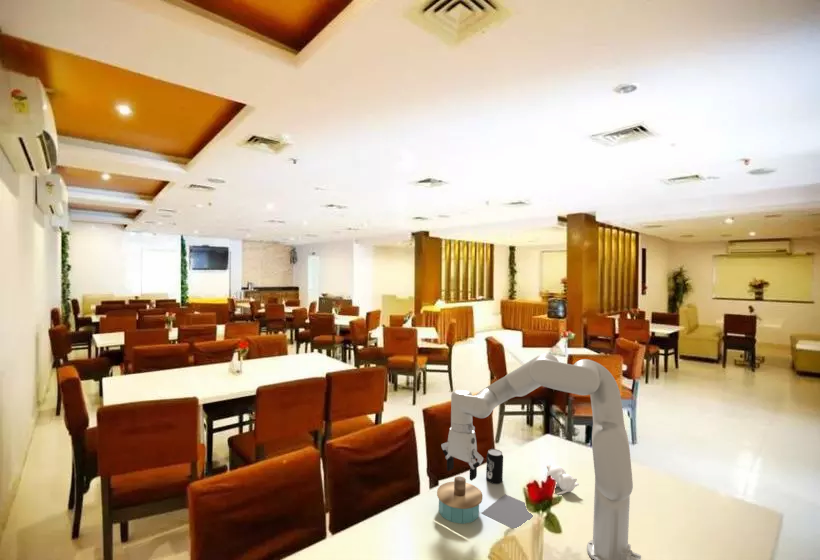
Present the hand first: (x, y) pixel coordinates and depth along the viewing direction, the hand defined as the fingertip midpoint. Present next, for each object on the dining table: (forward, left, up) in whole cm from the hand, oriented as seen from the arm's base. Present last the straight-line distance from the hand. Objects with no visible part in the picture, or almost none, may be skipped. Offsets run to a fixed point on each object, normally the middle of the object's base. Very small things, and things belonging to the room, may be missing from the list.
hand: (461, 474), depth 142 cm
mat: (-14, -13, -14) cm, 24 cm away
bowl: (+1, 0, -14) cm, 14 cm away
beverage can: (+3, -28, -14) cm, 31 cm away
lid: (0, 0, -8) cm, 8 cm away
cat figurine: (-19, -41, -14) cm, 48 cm away
